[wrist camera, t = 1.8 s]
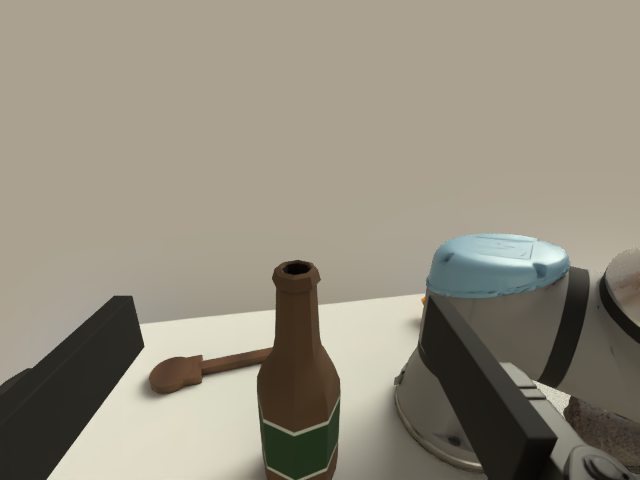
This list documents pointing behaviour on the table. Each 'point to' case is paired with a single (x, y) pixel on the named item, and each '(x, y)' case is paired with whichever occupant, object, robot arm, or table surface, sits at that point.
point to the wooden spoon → (198, 369)
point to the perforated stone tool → (605, 430)
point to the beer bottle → (298, 384)
